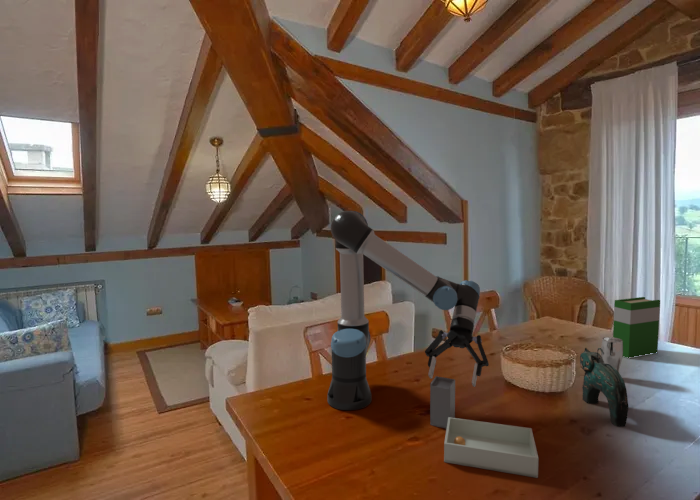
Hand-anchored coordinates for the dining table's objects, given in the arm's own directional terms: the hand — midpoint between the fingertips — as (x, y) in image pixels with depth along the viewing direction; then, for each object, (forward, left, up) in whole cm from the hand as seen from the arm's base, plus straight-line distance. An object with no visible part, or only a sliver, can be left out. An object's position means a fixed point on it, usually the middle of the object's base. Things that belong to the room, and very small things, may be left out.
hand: (451, 380), depth 127 cm
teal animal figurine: (+46, +16, -11) cm, 50 cm away
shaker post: (-2, -6, -11) cm, 13 cm away
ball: (+4, -20, -8) cm, 22 cm away
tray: (+11, -18, -11) cm, 24 cm away
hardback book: (+74, +79, -11) cm, 109 cm away
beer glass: (+56, +46, -11) cm, 73 cm away
